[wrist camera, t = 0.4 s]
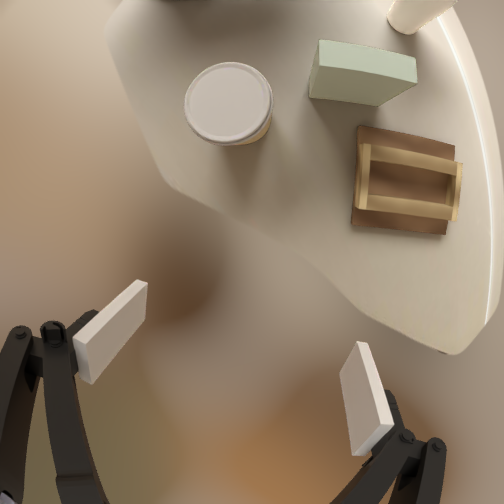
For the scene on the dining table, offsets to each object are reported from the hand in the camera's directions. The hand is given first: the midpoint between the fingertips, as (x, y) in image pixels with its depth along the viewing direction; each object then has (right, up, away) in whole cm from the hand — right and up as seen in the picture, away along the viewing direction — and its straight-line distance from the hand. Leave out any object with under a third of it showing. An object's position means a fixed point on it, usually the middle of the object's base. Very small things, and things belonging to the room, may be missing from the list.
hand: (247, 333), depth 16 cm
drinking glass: (+24, +41, +12) cm, 49 cm away
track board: (+23, +15, +20) cm, 34 cm away
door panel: (+13, +27, +17) cm, 35 cm away
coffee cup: (-1, +23, +21) cm, 31 cm away
